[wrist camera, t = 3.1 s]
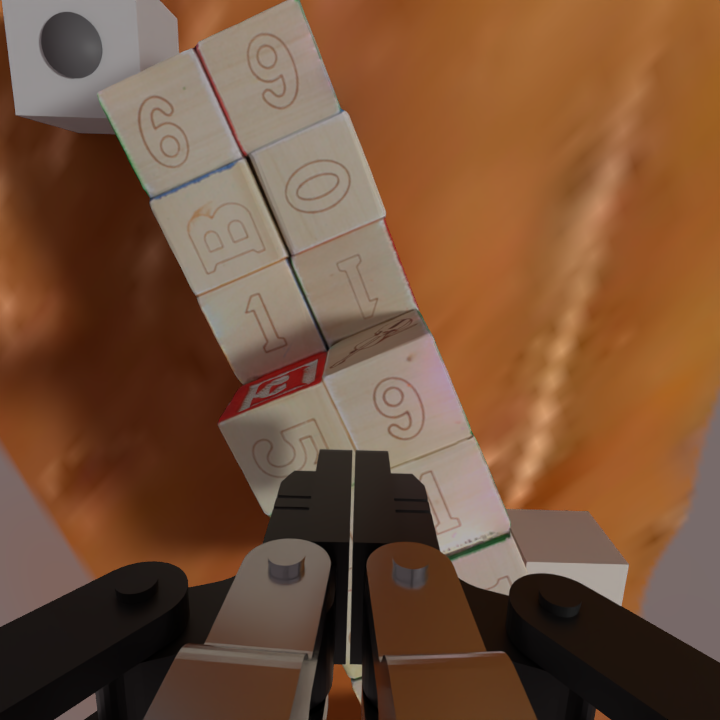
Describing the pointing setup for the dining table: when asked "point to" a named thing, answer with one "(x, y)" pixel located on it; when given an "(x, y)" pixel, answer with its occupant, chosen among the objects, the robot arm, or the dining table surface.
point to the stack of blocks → (304, 280)
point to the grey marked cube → (81, 54)
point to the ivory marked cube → (569, 549)
